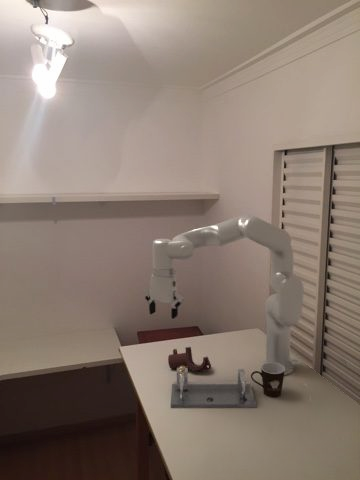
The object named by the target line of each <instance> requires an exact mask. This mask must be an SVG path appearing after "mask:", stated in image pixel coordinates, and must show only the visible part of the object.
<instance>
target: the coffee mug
mask: <svg viewBox="0 0 360 480" xmlns="http://www.w3.org/2000/svg"><path fill="white" fill-rule="evenodd" d="M284 373H285V367H284V366H283V365H281V364H278V363H273V362H269V363H264V364H263V365H262V364H261V366H260V371H258V370H254V371H253V372H252V373H251V374H250V378H251V380H252V381H253V382H254V383H256V384H257V385H259V386H260V387H262V391H263V394H264V395H265V396H266V397H268V398H274V399H275V398H279V397H281V395H282V391H283V390H282V389H283V385H284V384H283V383H284V379H285V375H284ZM254 374H259V375H260V376H261V381H262V383H260V382H258V381H257V380H255V379H254V377H253V375H254Z"/></svg>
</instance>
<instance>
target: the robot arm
mask: <svg viewBox="0 0 360 480" xmlns="http://www.w3.org/2000/svg"><path fill="white" fill-rule="evenodd" d="M245 238H246V239H249V240H250V241H252V242H255V243H256V244H258V245H261V246H263V247H265V248H267V249H268V250H269V253H270V259H271V262H270V263H271V264H270V277H269V285H270V287H271V288H272V290H274V292H275V293H273V294H271V295H269V296H268V297H267V299H266V301H265V304H264V305H265V306H264V307H265V308H264V309H265V310H264V311H265V316H266V317H265V318H266V337H265V338H266V339H265V341H266V345H265V347H266V348H265V349H266V351H265V360H264V361H263V362H262V364H261V366H262V365H263V364H264V363H269V362H273V363H278V364H281V365H283V366H284V367H285V373H284V376H287V375H290V374H292V373H293V371H294V366H298V367H299V366H300V367H302V361H301V360H298V358H291V331H292V330H291V329H292V327H294V326H295V325H297V324H298V323H299V322H300V320H301V318H302V313H303V303H304V302H303V301H304V292H305V291H304V284H303V281H302V279H301V278H300V277H299V276H298V275H296V274H295V273H294V250H293V247H292V245H291V244H292V243H291V242H292V238H291V235H290V234H289V232H288V231H287V230H284V229H283V228H281V227H278V226H276V225H274V224H272V223H270V222H267V221H266V220H263V219H261V218H259V217H257V216H255V215H252V214H249V213H248V214H246V213H245V214H242V215H239V216H235V217H232V218H230V219H227V220H225V221H222V222H219V223H215V224H213V225H207V226H204V227H200V228H199V227H198V228H196V229H192V230H189V231H186V232H183V233H181V234H177V235H176V236H174V237H173V238H172V239H169V238H156V239H154V240H153V242H152V274H151V276H150V281H149V288H148V289H145V290H143V295H144V297H145V300H146V301H147V304H148V311H149V315H153V314H155V313H156V308H157V307H156V302H161V303H167V304H170V306H171V311H170V312H171V313H170V314H171V319H172V320H173V319H176V318H177V317H178V315H179V313H178V310H179V307H180V306H181V305H182V303H183V301H184V299H185V297H184V296H182V294H180V293H178V283H177V278H176V272H177V271H176V270H174V260H189V259H191V258H192V257H193V256H194V255H195V253H196V252H195V251H196V250H195V249H198V248H202V247H203V248H204V247H223V246H226V245H229V244H231V243H234V242H237V241H239V240H242V239H245ZM177 300H178V301H177ZM155 301H156V302H155Z"/></svg>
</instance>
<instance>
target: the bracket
mask: <svg viewBox="0 0 360 480" xmlns="http://www.w3.org/2000/svg"><path fill="white" fill-rule="evenodd" d="M184 350H185V352H183V353H178V349H177V348H174V349H173V350H172V354H169V355H168V358H167V361H168V363H167V364H168V366H169V368H170V369H177V368H179V367H180V366H185V368H189V369H190V370H191V371H192V372H201V371H203V372H204V371H209V370H211V369H212V364H211V361H210V360H209V356H203V357H202V363H201V364H200V365H199V364H196V363H195V362H194V360H193V353H192V347H191V346H186V347H185V349H184Z"/></svg>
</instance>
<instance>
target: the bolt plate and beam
mask: <svg viewBox="0 0 360 480" xmlns="http://www.w3.org/2000/svg"><path fill="white" fill-rule="evenodd" d="M170 394H171V396H170V408H178V409H181V408H185V409H186V408H191V409H192V408H197V409H198V408H199V409H200V408H203V409H204V408H206V409H207V408H257V403H256V398H255V395H254V391H253V386H252V384H251V383H250V381H248V380H246V371H245V368H237V380H236V381H230V380H229V381H228V380H227V381H224V380H223V381H219V380H217V381H215V380H214V381H188V389H183V399H181V391H180V389H177V381H174V383H172V384H171V393H170Z"/></svg>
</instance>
